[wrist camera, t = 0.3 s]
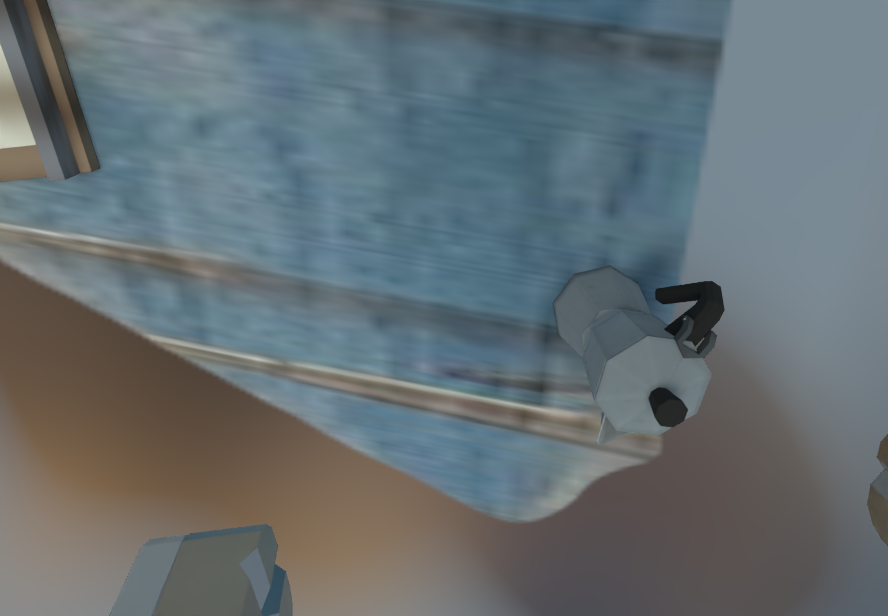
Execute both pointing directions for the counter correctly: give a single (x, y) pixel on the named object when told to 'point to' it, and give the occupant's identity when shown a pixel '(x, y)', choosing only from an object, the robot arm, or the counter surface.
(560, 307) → the coffee maker
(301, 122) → the counter surface
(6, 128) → the board
